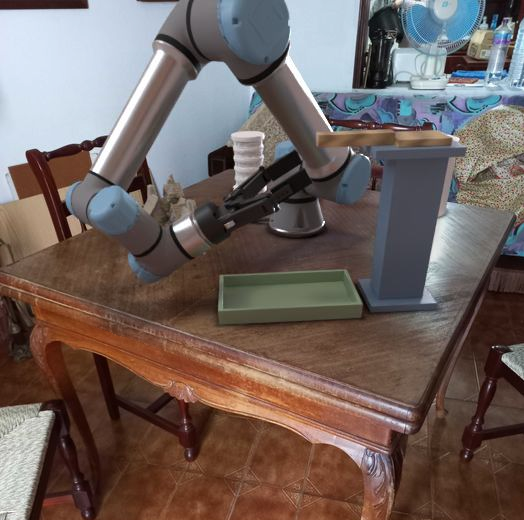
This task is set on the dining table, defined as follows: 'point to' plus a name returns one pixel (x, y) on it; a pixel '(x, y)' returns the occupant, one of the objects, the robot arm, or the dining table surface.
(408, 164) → the stand
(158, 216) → the ceramic cottage
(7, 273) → the dining table surface
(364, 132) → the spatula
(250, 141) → the decorative container
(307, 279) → the tray
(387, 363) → the dining table surface
